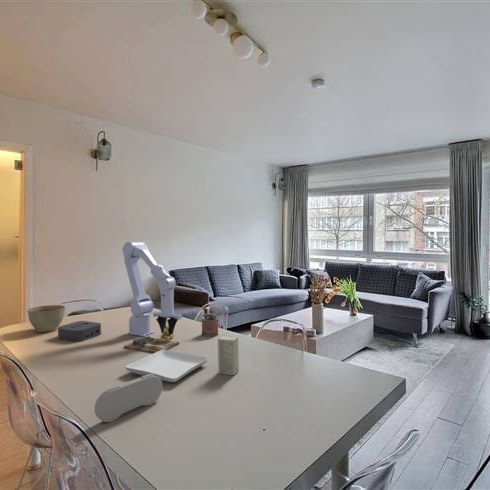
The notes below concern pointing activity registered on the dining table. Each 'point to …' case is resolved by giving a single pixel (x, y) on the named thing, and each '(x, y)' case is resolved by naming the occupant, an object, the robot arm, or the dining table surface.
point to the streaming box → (79, 331)
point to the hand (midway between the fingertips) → (167, 333)
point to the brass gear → (166, 333)
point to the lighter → (209, 325)
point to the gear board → (151, 344)
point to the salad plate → (167, 365)
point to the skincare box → (228, 355)
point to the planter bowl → (46, 317)
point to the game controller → (128, 397)
